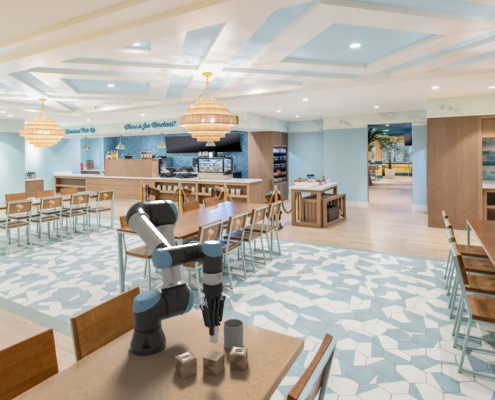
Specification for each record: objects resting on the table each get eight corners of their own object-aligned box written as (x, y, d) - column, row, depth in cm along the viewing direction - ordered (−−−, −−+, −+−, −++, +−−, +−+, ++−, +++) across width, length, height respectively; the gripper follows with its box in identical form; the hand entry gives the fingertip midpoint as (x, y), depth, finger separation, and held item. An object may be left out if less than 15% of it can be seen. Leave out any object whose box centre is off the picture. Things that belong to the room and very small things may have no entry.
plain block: (203, 372, 131) (202, 357, 130) (211, 364, 136) (211, 349, 136) (216, 376, 129) (216, 361, 128) (224, 367, 134) (224, 353, 133)
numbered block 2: (229, 369, 133) (229, 353, 133) (233, 360, 139) (232, 345, 138) (244, 370, 132) (244, 355, 131) (247, 361, 138) (247, 346, 137)
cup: (240, 351, 146) (240, 328, 145) (221, 349, 148) (221, 326, 147) (244, 341, 154) (244, 319, 153) (226, 339, 156) (226, 318, 155)
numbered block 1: (175, 371, 132) (174, 355, 131) (189, 365, 136) (188, 350, 135) (183, 378, 127) (182, 362, 127) (197, 372, 131) (196, 356, 130)
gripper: (208, 289, 121) (210, 352, 124) (231, 279, 132) (232, 337, 134) (193, 285, 126) (194, 346, 128) (216, 275, 136) (217, 332, 139)
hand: (213, 342), depth 131 cm, fingers closed
